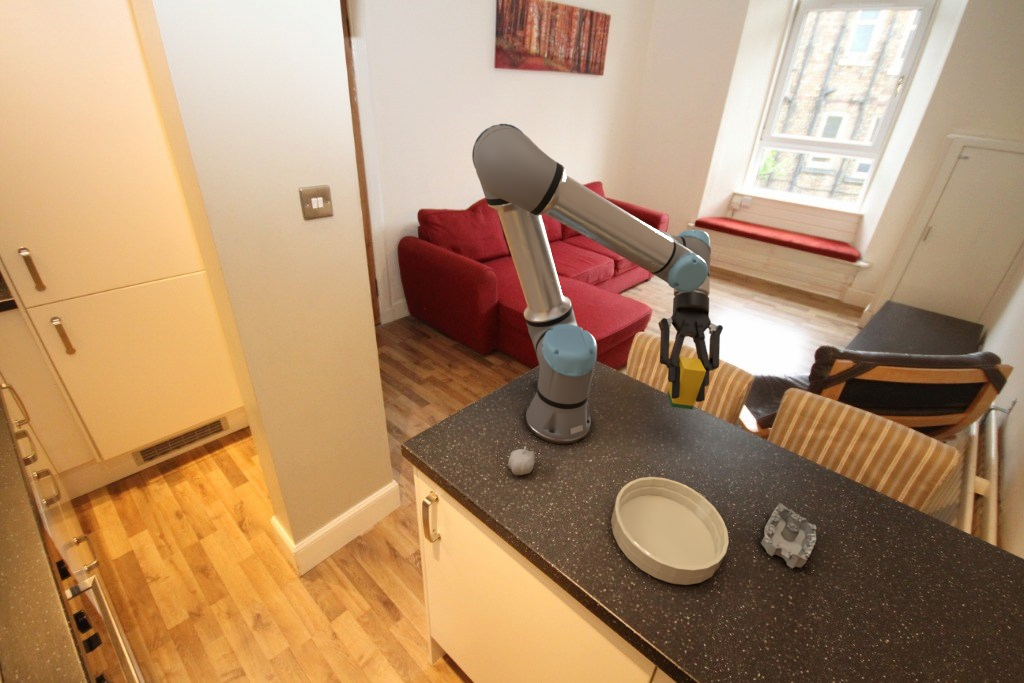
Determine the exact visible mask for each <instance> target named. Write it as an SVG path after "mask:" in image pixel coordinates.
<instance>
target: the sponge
mask: <svg viewBox="0 0 1024 683" xmlns="http://www.w3.org/2000/svg"><path fill="white" fill-rule="evenodd" d="M677 366H679V367H680V394H679V397H678V398H676V399H673V398H672V382H669V383H670V384H669V387H668V389H667V393H666V394H667V398H668V400H669V403H670V407H671V408H678V409H684V410H691V411H693V409H694V406H695V404H696V398H697V395H698V392H699V390H700V387H701V384H702V381H703V379H704V376H705V373H706V370H705V368H704V366H703V364H702V362H701V360H700V359H698V358H695V357H687V356H680V355H679V359H678V362H677V365H676V367H677Z"/></svg>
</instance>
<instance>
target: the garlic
mask: <svg viewBox="0 0 1024 683" xmlns="http://www.w3.org/2000/svg"><path fill="white" fill-rule="evenodd" d="M527 447H528V446H527V445H524V446H523V448H519V449H514V450H512V451H511V452H510V456H509V458H508V462H507V465H508V468H509V469H510V470H511V473H512V474H513V475H515V476H523V475H529V474H530V473H531V472H532V471H533V469H534V466H535V464H536V461H535V459H536V455H535V453H534V452H533V451H532V450H531V451H530V450H528V449H527Z"/></svg>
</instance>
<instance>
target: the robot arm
mask: <svg viewBox="0 0 1024 683" xmlns="http://www.w3.org/2000/svg"><path fill="white" fill-rule="evenodd" d="M471 153H472V154H471V158H472V159H471V160H472V163H473V167H474V169H475V173H476V176H477V178H478V180H479V182H480V186H481V189H482V192H483V195H484V199H485V201H486V204H487V206H488V207H489V208H492V209H494V210H495V211H496V212H497V215H498V217H499V221H500V224H501V227H502V230H503V234H504V236H505V240H506V243H507V246H508V249H509V252H510V256H511V259H512V261H513V265H514V269H515V271H516V274H517V277H518V280H519V283H520V287H521V289H522V294H523V295H524V299H525V303H526V307H525V309H524V311H523V317H524V321H525V323H526V327H527V330H528V334H529V338H530V340H531V341H532V345H533V349H534V352H535V355H536V358H537V362H538V365H539V370H538V371H539V372H538V379H537V381H534V382H533V383H534V386H535V388H536V392H535V394H534V396H533V398H532V399H531V402H530V404H529V405H528V407H527V409H526V412H525V424H526V427H527V428H528V430H529V431H530V432H531V433H532V435H534V436H535V437H536V438H538V439H540V440H542V441H544V442H547V443H551V444H555V445H571V444H576V443H578V442H580V441H583V440H584V439H585V438H586V437H587V436H588V434H589V432H590V430H591V424H592V423H591V422H592V421H591V419H592V418H591V412H590V408H589V407H590V406H589V403H588V402H589V401H588V398H589V393H590V389H591V384H592V379H593V375H594V370H595V365H596V362H597V359H598V356H597V355H598V344H597V341H596V339H595V337H594V336H593V334H591V333H590V331H588V330H584V328H583V327H581V326H579V325H578V323H577V320H576V316H575V315H576V314H575V311H574V308H573V304H572V301H571V299H570V298H569V297H568V296H566V295H563V292H562V289H561V288H562V287H561V285H560V280H559V277H558V273H557V269H556V266H555V262H554V258H553V255H552V250H551V247H550V242H549V239H548V236H547V232H546V228H545V224H544V221H543V217H542V215H545V216H548V217H549V218H551V219H553V220H555V221H556V222H558V223H560V224H562V225H564V226H565V227H568V228H569V229H571V230H573V231H574V232H576V233H578V234H579V235H582V236H583V237H585V238H587V239H589V240H590V241H592V242H594V243H596V244H598V245H600V246H601V247H603V248H605V249H607V250H609V251H610V252H612V253H614V254H616V255H618V256H619V257H622V258H623V259H624V260H627V261H629V262H630V263H633V265H636V266H638V267H639V268H642V269H643V270H645V271H647V272H649V273H650V274H651V275H653V276H655V277H657V278H659V279H660V280H662V281H663V282H665V283H667V284H668V286H669V287H670V288H672V289H673V296H674V297H673V298H672V300H673V301H672V315H671V316H670V317H669V318H666V317H663V318H661V319H660V320H659V322H658V328H659V330H660V345H659V363H660V364H661V365H665V366H666V368H667V381H668V382H669V383H671V382H672V398H673V399H676V398H678V397H679V394H680V367H679V366H677V367H676V365H677V362H678V359H679V356H680V355H681V351H682V348H683V344H684V342H685V338H686V337H688V338H692V341H693V343H694V346H695V350H696V356H697V359H700V360H701V362H702V364H703V366H704V368H705V370H706V373H705V376H704V379H703V381H702V384H701V387H700V390H699V392H698V395H697V398H696V401H695V403H701V402H703V401H705V397H706V387H709V385H710V372H712V371H714V370H717V369H719V367H720V351H721V350H720V349H721V348H720V346H721V344H720V343H721V334H722V332H723V329H724V326H723V325H721V324H718V325H716V324H714V323H712V321H711V318H710V297H709V296H710V290H711V289H710V288H711V287H710V284H711V283H710V281H711V280H710V278H711V277H710V274H711V255H712V248H711V238H710V236H709V234H708V233H707V232H706V231H705V230H701V229H695V230H694V229H686V230H683V231H681V232H680V233H678V235H676V234H673V233H669V232H666V231H663V230H660V229H657V228H654V227H653V226H651V225H650V224H648V223H646V222H645V221H643V220H641V219H639V218H638V217H636V216H634V215H633V214H631V213H629V212H628V211H626V210H625V209H623V208H621V207H619V206H618V205H616V204H615V203H613V202H611V201H610V200H608V199H607V198H605V197H603V196H602V195H600V194H598V193H597V192H595V191H593V190H592V189H590V188H588V187H587V186H585V185H584V184H582V183H580V182H578V181H577V180H575V179H574V178H572V177H570V176H569V175H567V172H566V169H565V166H564V165H563V164H561V163H560V162H558V161H556V160H555V159H553V158H552V157H550V156H549V155H548V154H547V153H545V151H543V150H542V149H541V148H540V147H539V146H538V145H537V144H536V143H534V141H533V140H532V139H531V138H530V137H529V136H527V134H525V133H524V132H523V131H522V129H520V128H518V127H516V126H515V125H512V124H508V123H498V124H492V125H491V126H489V127H487V128H485V129H484V130H483V131H482V132H481V133H480V134H479V135H478V137H476V139H475V142H474V145H473V147H472V152H471ZM672 326H673V328H674V330H675V331H676V333H675V337H674V343H673V346H672V349H671V353H670V335H671V334H670V333H671V331H670V330H671V329H670V328H671V327H672ZM707 329H708V334H709V335H710V336H709V350H708V348H707V345H706V340H705V339H706V334H705V332H706V331H707Z"/></svg>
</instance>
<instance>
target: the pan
mask: <svg viewBox="0 0 1024 683" xmlns="http://www.w3.org/2000/svg"><path fill="white" fill-rule="evenodd" d="M610 524H611V530H612V535H613V537H614V539H615V541H616V544H617V545H618V547H619V549H620V550H621V551H622V553H623V554H624V555H625V557H626V558H627V559H628V560H629V561H630V562H631V563H633V564H634V565H635V566H636V567H637V568H638V569H639V570H641V571H642V572H644V573H646V574H648V575H650V576H651V577H653V578H655V579H658V580H660V581H664V582H666V583H670V584H675V585H682V586H683V585H684V586H687V585H688V586H689V585H693V584H700V583H703V582H704V581H706V580H709V579H710V578H712V577H713V576H714V574H715V573H717V571H718V570H719V568H720V566H721V565H722V562H723V560H724V558H725V556H726V554H727V551H728V548H729V543H730V542H729V541H730V540H729V530H728V528H727V525H726V524H725V521H724V519H723V517H722V516H721V514H720V512H719V510H717V508H716V507H715V506H714V505H713V504H712V503H711V502H710V501H709V499H706V497H704V495H703V494H701V493H699V492H697V491H696V489H693V488H692V487H690V486H687V485H685V484H683V483H681V482H679V481H676V480H673V479H669V478H664V477H656V476H647V477H639V478H637V479H634V480H631V481H629V482H627V483H626V484H625V485H624V486H623V487H622V488H621V489H620V491H619V492H618V494H617V496H616V497H615V502H614V505H613V508H612V513H611V519H610Z"/></svg>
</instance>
